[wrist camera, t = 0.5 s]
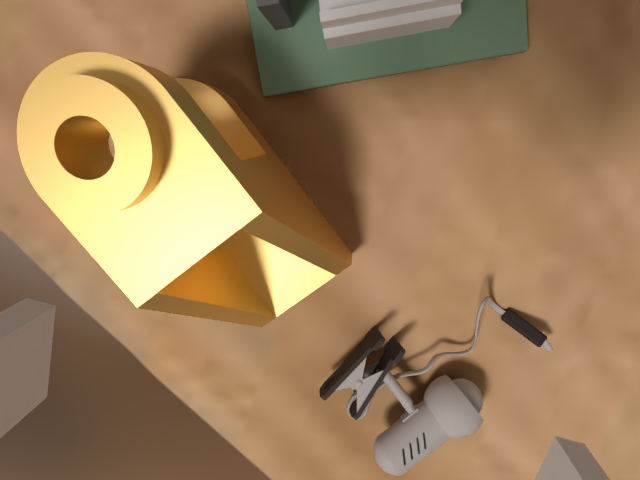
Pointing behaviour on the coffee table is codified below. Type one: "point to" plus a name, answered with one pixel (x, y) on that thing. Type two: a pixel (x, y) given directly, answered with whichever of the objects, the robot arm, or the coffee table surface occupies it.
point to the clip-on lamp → (432, 412)
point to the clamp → (173, 191)
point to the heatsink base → (384, 57)
